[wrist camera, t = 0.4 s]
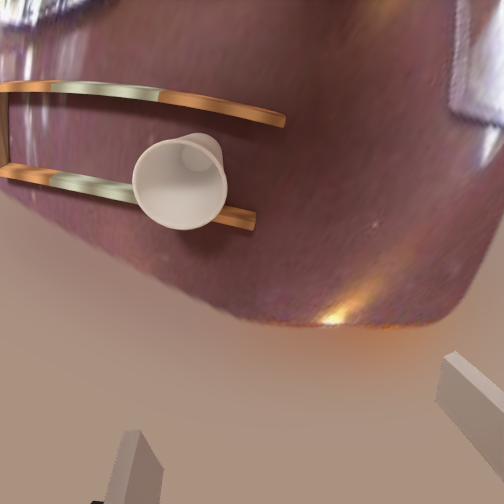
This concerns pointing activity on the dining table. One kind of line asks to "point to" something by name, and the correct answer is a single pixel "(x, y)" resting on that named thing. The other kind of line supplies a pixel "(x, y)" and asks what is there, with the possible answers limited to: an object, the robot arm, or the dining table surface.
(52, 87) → the track
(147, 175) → the cup
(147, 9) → the dining table surface
